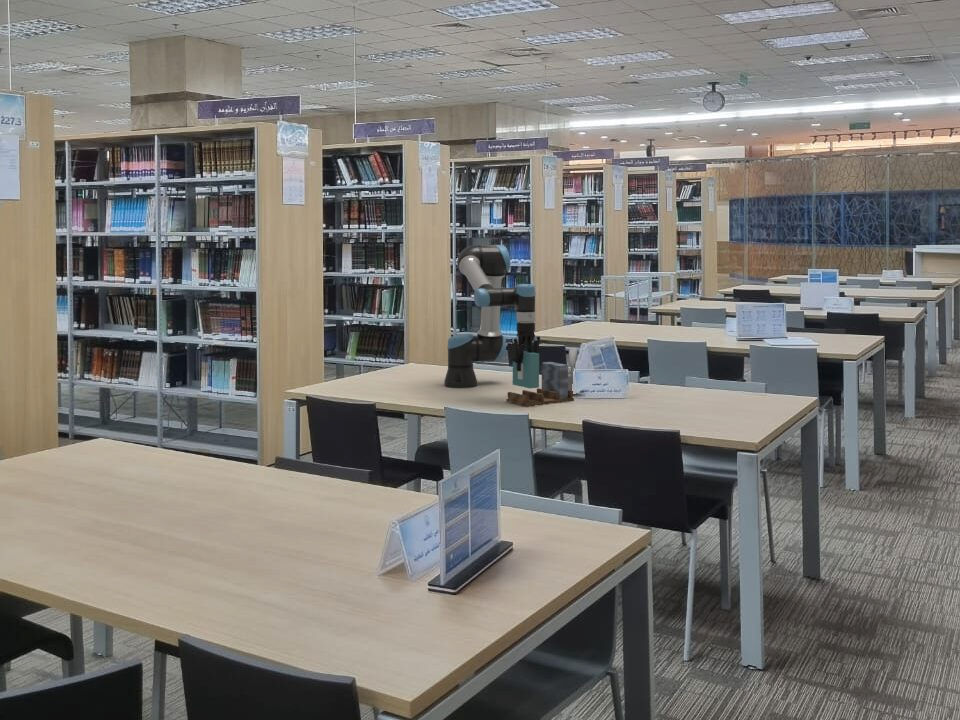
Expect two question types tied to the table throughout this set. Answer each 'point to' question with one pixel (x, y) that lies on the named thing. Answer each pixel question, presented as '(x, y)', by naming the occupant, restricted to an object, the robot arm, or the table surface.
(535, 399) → the rack
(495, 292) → the robot arm
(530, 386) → the book block
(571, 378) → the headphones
